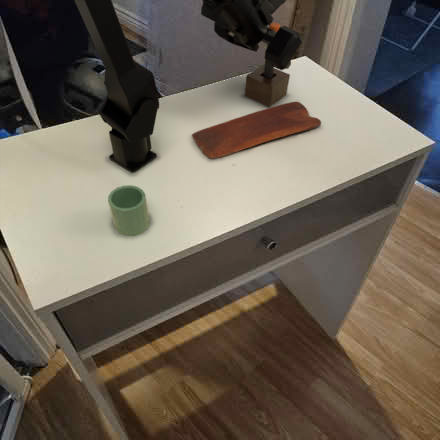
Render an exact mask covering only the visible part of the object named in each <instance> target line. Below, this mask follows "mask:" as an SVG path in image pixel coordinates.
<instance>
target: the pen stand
mask: <svg viewBox="0 0 440 440" xmlns="http://www.w3.org/2000/svg"><path fill="white" fill-rule="evenodd" d="M264 68H265V63H264V64H262V65H261V66H259V67H257V68H256V69H254V70H252V71H251V72H249V73H247V74H246V75H245V86H244V97H246V98H248V99H250V100H253V101H254V102H257V103H259V104H262V105H264V106H266V107H268V108H271V107H273V106H274V105H275V104H276V103H278V102H279V101H280V100H281V99H283V98H284V97H286V96H287V94H288V89H289V83H290V77H291V74H289V73H287V72H285V71H283V70H279V69H277V68H275V67H274V72H273V78H272V79H271V80H269V79H267V78H264V77H263V76H264Z"/></svg>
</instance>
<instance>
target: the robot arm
mask: <svg viewBox="0 0 440 440" xmlns="http://www.w3.org/2000/svg"><path fill="white" fill-rule="evenodd" d="M286 2H287V0H202V4H201V5H202V6H201V9H200V10H201V11H200V15H201V16H202V17H205V18H207V19H208V20H211V21H212V22H214V24H213V30H214V33H215V34H216V35H217V36H218V37H219V38H221V39H223V40H225V41H226V42H228V43H229V44H231V45H233V46H237V47H240V48H244V49H246V50H249V51H252V52H255V53H258V50H260V46H259V44H260V43H261V42H262V43H264V44H265V45H267V44H268V45H269V46H268V47H267V46H266V49H265V51H264V60H266V61H267V62H268V63H269V64H270V65H272V66H273V67H274V68H275V69H278V70H280V71H284V70H289V68H290V67H291V65H292V59H293V57H294V56H295V54H296V53H297V51H298V50H299V48H300V46H301V45H302V43H303V38H302V36H301V34H300V33H299V31H297V30H295V29H293V28H291V27H288V26H287V25H281V26H280V28H279V29H278V31H277V32H276V31H274V30H272V29H270V28H269V26H270V25H271V23H273V22H274V20H275V19H274V16H273V14H274V13H275V12H277V10H278V9H279V8H280V7H281V6H282V5H284V4H285V3H286ZM74 3H75V5H76V7H77V9H78V12H79V14H80V16H81V19H82V21H83V23H84V25H85V27H86V29H87V31H88V34H89V36H90V38H91V41H92V42H93V44H94V47H95V49H96V51H97V54H98V56H99V58H100V60H101V62H102V65H103V67H104V86H105V89H106V93H107V95H106V98H105V99H104V100H103V103H102V105H101V107H100V108H99V111H98V115H99V117H100V118H101V121H103V122H104V123H105V124H107V125H108V126H109V127H110V128H111V130H109V131H108V135H109V139H110V144H111V149H112V153H111V154H110V155H109V156H108V158H109V160H110V161H112V162H113V163H115V164H116V165H118V166H120V167H121V168H123V169H125V170H127V171H128V172H130V173H132V174H133V173H136V172H137V171H139V170H140V169H141V168H143V167H145V166H146V165H148V164H149V163H150V162H152V161H154V160H155V159H157V157H158V154H157V153H156V152H154V151H153V150H152V141H151V136H152V135H153V134H154V130H155V124H156V120H157V115H158V110H159V109H160V99H159V97H161V95H162V94H161V92H160V91H159V90H158V88H157V84H156V79H155V76H154V73H153V71H151V70H149V69H148V68H147V67H145V66H143V65H142V64H141V63H139V62H138V61H136V60H135V59H134V56H133V54H132V52H131V49H130V47H129V43H128V41H127V38H126V36H125V33H124V30H123V28H122V25H121V22H120V19H119V17H118V14H117V11H116V9H115V6H114V3H113V1H112V0H74Z"/></svg>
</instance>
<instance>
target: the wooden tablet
mask: <svg viewBox="0 0 440 440" xmlns="http://www.w3.org/2000/svg"><path fill="white" fill-rule="evenodd" d="M320 126H322V121H321V119H319V118H318V117H313V116H310V114H309V111H308V109H307V107H306V106H305V105H304V104H303V103H301V102H299V101H291V102H286V103H282V104H278V105H275V106H271V107H268V108H265V109H262V110H257V111H255V112H252V113H248V114H246V115H242V116H240V117H235V118H233V119H230V120H227V121H224V122H221V123H218V124H214V125H211V126H209V127H206V128H203V129H200V130H198V131H195V132H194V133H192V134H191V137H192V139H193V140H194V142H195V143H196V145H197V146H198V148H200V150H201V152H202V153H203V154H204V155H205V156H206V157H207V158H208V159H216V158H222V157H226V156H228V155H231V154H234V153H236V152H240V151H242V150H245V149H248V148H251V147H254V146H258V145H261V144H263V143H266V142H269V141H273V140H276V139H279V138H283V137H287V136H290V135H294V134H298V133H302V132H305V131H309V130H312V129H315V128H317V127H320Z"/></svg>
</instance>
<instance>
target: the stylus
mask: <svg viewBox="0 0 440 440" xmlns="http://www.w3.org/2000/svg"><path fill="white" fill-rule="evenodd" d="M280 27H281V24H280V23H278V22H272V23H271V25H270V26H269V25H268V28H270V29H272V30H274V31H276V32H277V31H278V29H279V28H280ZM268 46H269V45H268V44H266V48H267V47H268ZM264 60H265V59H264ZM264 64H265V68H264V76H263V77H264V78H267V79H269V80H271V79H272V78H273V72H274V68H275V67H273V66H272V65H270V64H269V63H268V62H267V61H266V60H265V61H264Z"/></svg>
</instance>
